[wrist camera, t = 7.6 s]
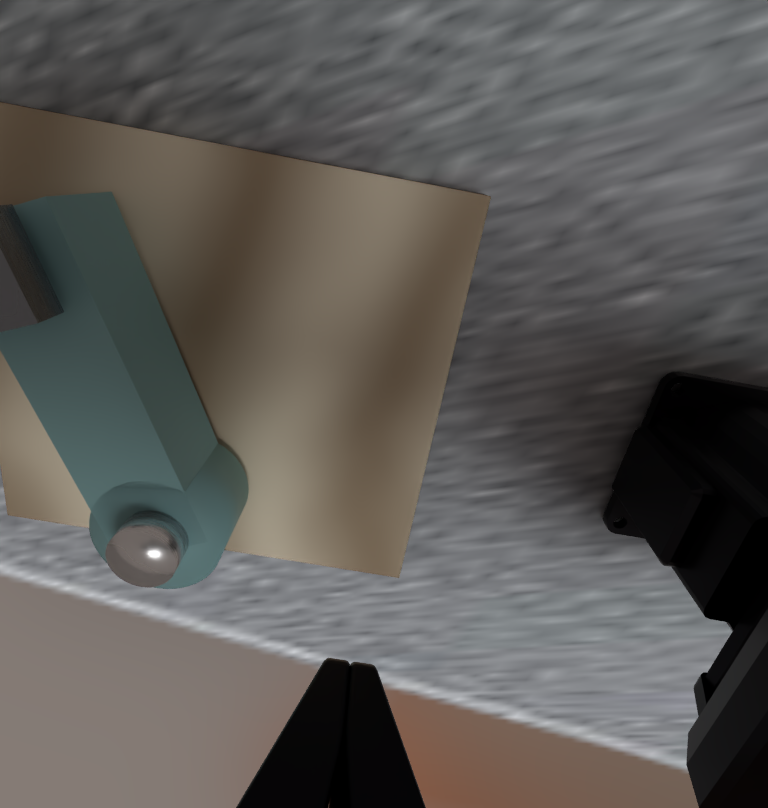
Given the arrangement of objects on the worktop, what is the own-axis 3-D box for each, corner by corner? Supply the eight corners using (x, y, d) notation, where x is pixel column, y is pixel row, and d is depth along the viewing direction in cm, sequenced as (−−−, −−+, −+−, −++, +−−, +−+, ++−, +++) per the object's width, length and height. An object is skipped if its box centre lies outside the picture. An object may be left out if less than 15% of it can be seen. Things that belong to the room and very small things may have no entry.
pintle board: (484, 194, 16) (531, 208, 10) (399, 557, 21) (397, 698, 16) (-22, 97, 15) (-280, 53, 9) (28, 497, 21) (-115, 621, 15)
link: (264, 518, 19) (231, 601, 15) (163, 538, 20) (108, 622, 16) (127, 187, 15) (36, 192, 11) (2, 222, 15) (-126, 240, 11)
